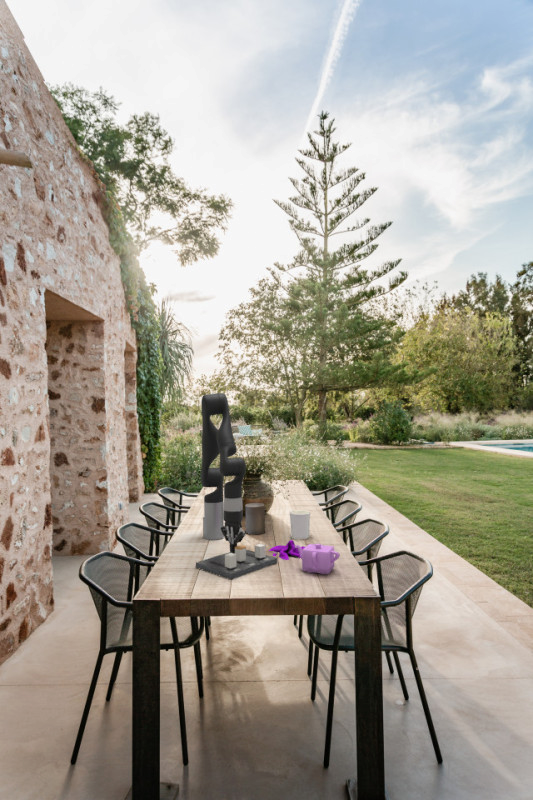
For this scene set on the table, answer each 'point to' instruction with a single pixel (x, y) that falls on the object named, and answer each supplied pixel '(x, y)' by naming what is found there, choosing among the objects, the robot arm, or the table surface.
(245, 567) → the panel
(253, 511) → the pillar candle
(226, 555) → the breaker
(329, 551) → the teapot
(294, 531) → the candle holder
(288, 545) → the cloth
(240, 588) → the table surface
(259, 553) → the block
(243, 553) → the block
